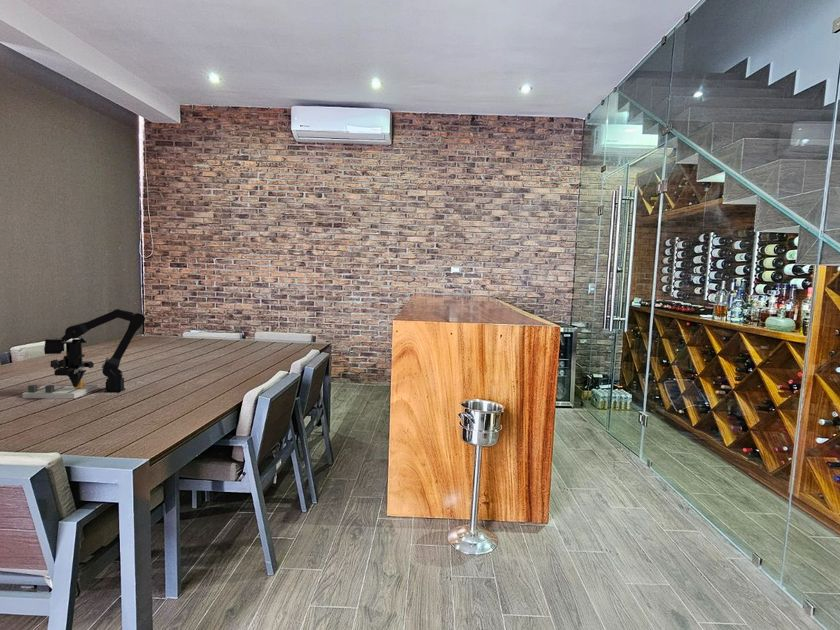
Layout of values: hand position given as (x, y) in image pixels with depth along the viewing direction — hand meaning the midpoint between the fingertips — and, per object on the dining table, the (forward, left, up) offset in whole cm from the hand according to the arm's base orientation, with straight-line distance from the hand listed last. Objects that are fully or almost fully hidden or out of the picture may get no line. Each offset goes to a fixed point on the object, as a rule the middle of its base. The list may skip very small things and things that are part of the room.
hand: (75, 386), depth 207 cm
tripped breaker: (0, -3, -1) cm, 3 cm away
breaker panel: (+7, -2, -4) cm, 8 cm away
